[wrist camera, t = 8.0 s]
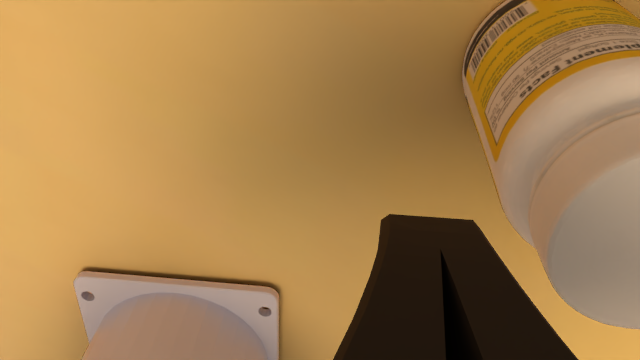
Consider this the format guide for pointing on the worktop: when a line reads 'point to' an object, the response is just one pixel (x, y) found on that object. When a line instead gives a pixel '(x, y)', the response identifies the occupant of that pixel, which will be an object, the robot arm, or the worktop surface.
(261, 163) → the worktop surface
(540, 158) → the supplement bottle
